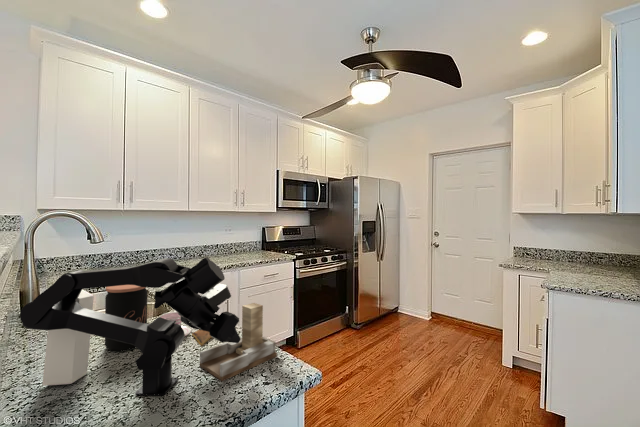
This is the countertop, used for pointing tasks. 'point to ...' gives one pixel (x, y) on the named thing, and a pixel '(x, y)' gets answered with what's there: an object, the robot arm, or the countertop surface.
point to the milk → (67, 351)
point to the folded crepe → (201, 336)
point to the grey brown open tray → (235, 358)
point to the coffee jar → (125, 309)
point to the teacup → (176, 317)
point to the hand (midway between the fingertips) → (228, 336)
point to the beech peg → (251, 326)
